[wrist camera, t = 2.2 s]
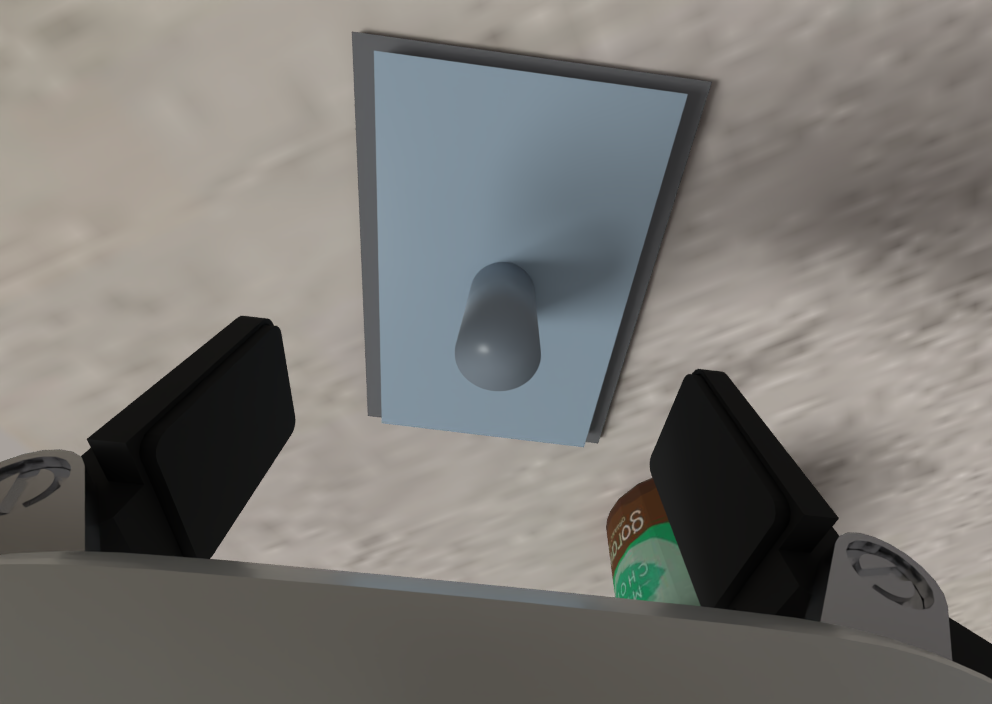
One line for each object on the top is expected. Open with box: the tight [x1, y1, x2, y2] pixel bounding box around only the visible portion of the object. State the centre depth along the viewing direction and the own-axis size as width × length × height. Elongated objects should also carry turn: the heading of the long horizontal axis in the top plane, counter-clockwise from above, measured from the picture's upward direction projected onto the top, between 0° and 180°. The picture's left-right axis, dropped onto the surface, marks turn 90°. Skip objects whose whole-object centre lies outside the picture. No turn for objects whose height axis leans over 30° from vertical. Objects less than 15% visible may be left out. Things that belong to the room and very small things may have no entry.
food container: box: [606, 478, 701, 606], centre depth 21 cm, size 12×6×10 cm, turn 178°
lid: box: [374, 51, 688, 447], centre depth 15 cm, size 10×15×6 cm, turn 173°
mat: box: [352, 32, 712, 443], centre depth 18 cm, size 12×16×1 cm
